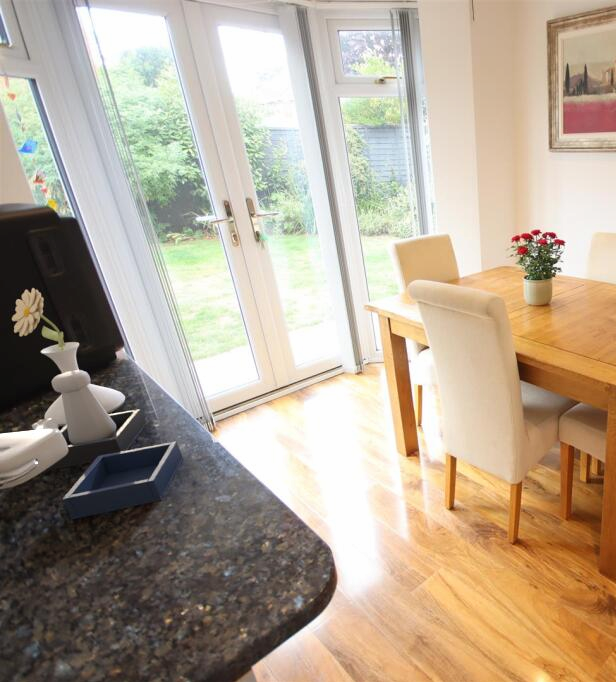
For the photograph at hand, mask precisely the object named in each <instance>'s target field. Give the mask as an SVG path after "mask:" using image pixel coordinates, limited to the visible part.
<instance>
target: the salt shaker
mask: <svg viewBox="0 0 616 682" xmlns="http://www.w3.org/2000/svg"><path fill="white" fill-rule="evenodd" d="M89 384H91V377H90V374H89V373H88V372H87V371H84V370H82V369H79V370H74V371H69V372H65V373H62V372H61V373H60V374H57V375H56V376H54V377H53V378H52V380H51V387H52V388H53V390H54V391H55V392H57V393H61V394H62V399H63V405H64V412H65V418H66V424H67V430H68V436H69V441H70V442H71V443H72V444H80V443H85V442H91V441H96V440H102V439H108V438H112V437H113V436H114V435H115V434H116V424H115V423H114V421H113V420H112V419H111V417H110V416H109V415H108V413H107V412H106V411H105V409H104V408H103V407H102V405H101V404H100V403H99V401H98V400H97V399H96V397H95V396H94V395H93V393H92V392H91V391H90V389H89V388H88V387H87V385H89Z"/></svg>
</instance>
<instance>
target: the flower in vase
mask: <svg viewBox="0 0 616 682" xmlns="http://www.w3.org/2000/svg"><path fill="white" fill-rule="evenodd" d="M15 305H16V306H15V309H14V310H15V314H13V315H12V317H11V321H12V322H16V323H15V324H14V326H13V328H14V329H13V332H14V334H16V333H19V335H18V336H19V337H23V336H25V337H26V336H28V335H29V334H31V333H33V331H34V330H35V329H36V328H37V326H38V324H39V323H40V321H41V320H40V319H43V320H44V321H45V322H46V323H47V324H49V325H50V326H51V327H52V328H53V329H54V330H53V329H50V328H48V327H46V326H45V325H43V326H42V329H41V335H42V336H43V338H45V339H49V340H51V341H55V342H58V344H54V345H49V346H48V347H45V348H43V349H42V350H40V353H41V354H42V355H45V356H46V357H48V358H50V359H51V360H52V361H53V362H54V363H55V365H57V367H58V369H59V370H60V372H61V374H62V373H65V372H69V371H74V370H80V369H79V366H78V365H79V364H78V361H77V351H78V348H79V347H80V343H79V342H76V341H71V342H70V341H69V342H68V341H67V342H64V332H63V331H60V330H59V328H58V327H57V326H56V324H54V323H53V322H52V321H51V320H49V319H48V318H47V317H45V316H44V315H43V313H44V310H43V308H44V297H43V296H42V293H41V292H39V290H38V289H35V288H34V287H32V288H31V292H30V291H29V290H28V289H25V290H24V292H23V293H22V294H21V299H19V298H18V299H16V301H15ZM87 387H88V388H89V389H90V391H91V392H92V393H93V395H94V396H95V397H96V399H97V400H98V401H99V403H100V404H101V405H102V407H103V408H104V409H105V411H106V412H107V413H108V414H112V413H113V412H115V411H116V410H118V409H119V408H121V407H122V406H123V404H124V403H125V400H126V396H125V395H124V394H123V393H122V392H121V391H119V390H116V389H114V388H109V387H106V386H102V385H101V386H100V385H96V384H93V383H90V384H89V385H87ZM52 418H53V419H55V420H56V423H57V425H58V427H64V426H65V425H66V418H65V412H64V405H63V399H62V393H61V394H60V396H58V397H57V398H56V400H54V401H53V402H52V404H51V405H50V406H49V407H48V409H47V411H45V413H44V419H52Z"/></svg>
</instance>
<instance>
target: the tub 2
mask: <svg viewBox="0 0 616 682" xmlns="http://www.w3.org/2000/svg"><path fill="white" fill-rule="evenodd" d="M183 460H184V457H183V455H182V452H181V449H180V446H179V443H178V441H172V442H165V443H160V444H154V445H149V446H144V447H139V448H133V449H128V450H127V451H122V452H117V453H112V454H106V455H101V456H98V457H97V458H96V459H95V461H94V462H91V464H90V465H89V466H88V468H87V469H86V470H85V471H84V472H83V474H82V475H81V476H80V477H79V479H77V481H76V482H75V483H74V484H73V486H72V487H71V488H70V489H69V491H67V493H66V494H65V495H64V496H63V498H62V499H61V500H62V502H63V504H64V506H65V508H66V510H67V512H68V514H69V516H70V518H71V520H77V519H81V518H86V517H90V516H95V515H101V514H103V513H108V512H109V513H110V512H113V511H117V510H123V509H128V508H131V507H137V506H139V505H140V506H141V505H145V504H150V503H155V502H159V501H162V500H163V498H164V496H165V494H166V493H167V490H168V489H169V487H170V485H171V483H172V481H173V480H174V477H175V475H176V473H177V472H178V469H179V468H180V466H181V464H182V463H183Z"/></svg>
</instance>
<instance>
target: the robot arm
mask: <svg viewBox="0 0 616 682" xmlns="http://www.w3.org/2000/svg"><path fill="white" fill-rule="evenodd" d="M31 428H32V430H22V431H14V432H13V431H12V432H5V433H0V490H3V489H9V488H13V487H16V486H18V485H22V484H24V483H26V482H27V481H30V480H31V479H33V478H35V477H36V476H38V475H40V474H41V473H43V472H45V471H44V470H46V469H47V468H49V467H50V466H52V465H53V464H55V463H56V462H58V461H59V460H60V459H62V458H63V457H64V456H66V455H67V453H68V445H67V443H66V440H65V438H64V437H63V435H62V433H61V432H60V430H61V429H59V426H58V425H57V423H56V420H55V419H53V418H52V419H38V421H35V422H34V423H32V424H31Z"/></svg>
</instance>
